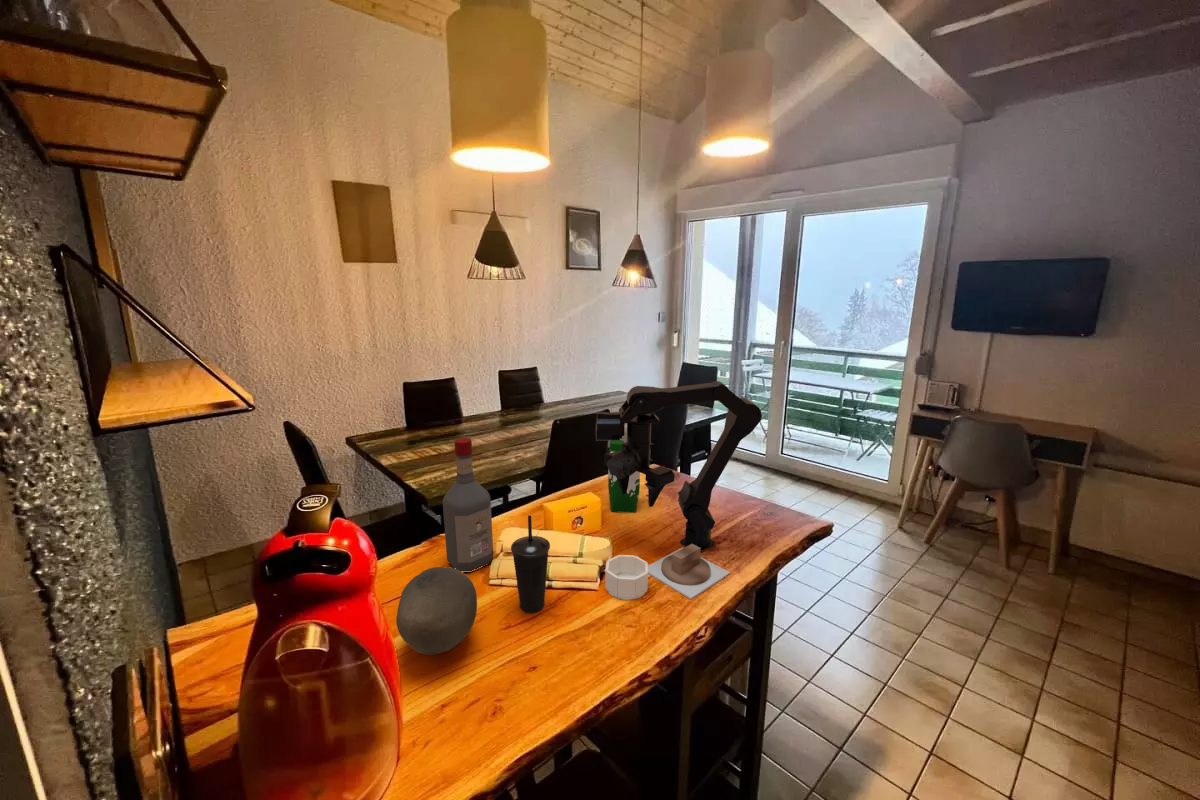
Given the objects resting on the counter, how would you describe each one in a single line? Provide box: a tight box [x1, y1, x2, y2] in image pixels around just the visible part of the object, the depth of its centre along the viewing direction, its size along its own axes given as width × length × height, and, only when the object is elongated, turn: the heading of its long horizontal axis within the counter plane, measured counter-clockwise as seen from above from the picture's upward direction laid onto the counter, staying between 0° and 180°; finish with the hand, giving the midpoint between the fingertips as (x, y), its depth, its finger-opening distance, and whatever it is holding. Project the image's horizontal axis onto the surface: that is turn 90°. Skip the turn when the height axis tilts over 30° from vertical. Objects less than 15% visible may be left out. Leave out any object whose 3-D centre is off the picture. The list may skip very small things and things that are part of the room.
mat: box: [648, 547, 731, 600], centre depth 112 cm, size 14×14×1 cm
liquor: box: [442, 437, 494, 571], centre depth 112 cm, size 9×9×30 cm
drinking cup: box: [510, 515, 551, 614], centre depth 98 cm, size 8×8×20 cm
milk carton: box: [607, 439, 641, 513], centre depth 141 cm, size 9×9×20 cm
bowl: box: [604, 554, 649, 601], centre depth 106 cm, size 9×9×5 cm
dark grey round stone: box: [395, 566, 478, 656], centre depth 87 cm, size 14×14×15 cm
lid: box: [661, 544, 710, 585], centre depth 111 cm, size 11×11×5 cm
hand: (637, 500), depth 121 cm, fingers open, 9 cm apart
